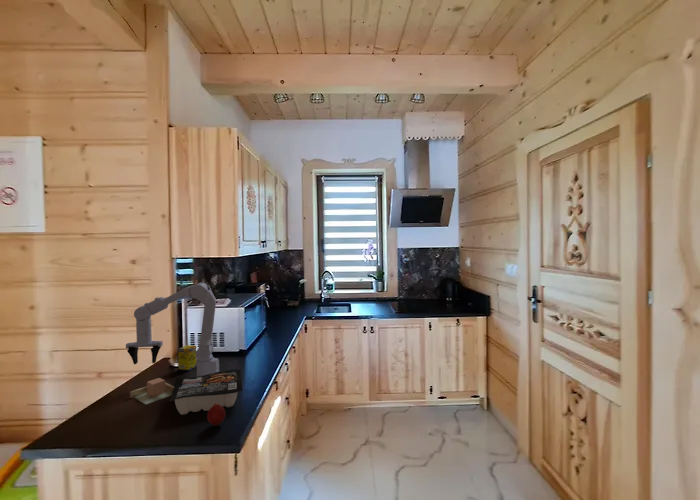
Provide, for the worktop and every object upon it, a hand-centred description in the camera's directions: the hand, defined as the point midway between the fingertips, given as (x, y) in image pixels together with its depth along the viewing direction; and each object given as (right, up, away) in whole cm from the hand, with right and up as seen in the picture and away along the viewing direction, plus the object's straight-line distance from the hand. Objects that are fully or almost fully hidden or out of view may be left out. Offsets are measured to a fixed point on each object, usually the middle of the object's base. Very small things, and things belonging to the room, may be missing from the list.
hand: (144, 363), depth 153 cm
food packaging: (+35, -10, -16) cm, 40 cm away
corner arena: (+11, -10, -11) cm, 18 cm away
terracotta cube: (+11, -9, -10) cm, 17 cm away
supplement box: (+11, -9, +18) cm, 23 cm away
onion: (+46, -10, -35) cm, 59 cm away
